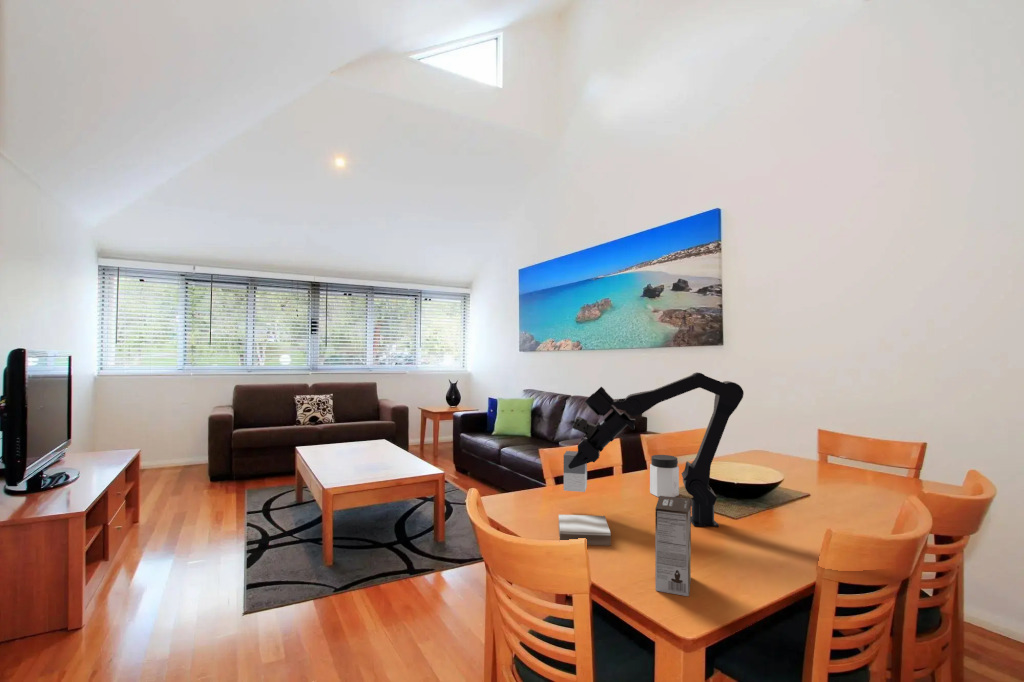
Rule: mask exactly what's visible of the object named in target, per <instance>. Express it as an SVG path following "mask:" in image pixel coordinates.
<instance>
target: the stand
mask: <svg viewBox="0 0 1024 682" xmlns="http://www.w3.org/2000/svg"><path fill="white" fill-rule="evenodd" d="M558 535H559V537H560V538H559V541H560V540H569V539H578V538H586V539H587V544H588V545H587V546H604V547H605V546H606V547H607V546H611V545H612V544H611V543H612V539H611V538H612V537H611V536H612V533H611V529H610V528H609V524H608V522H607V519H606V516H605V515H591V514H589V515H586V514H585V515H584V514H559V513H558Z"/></svg>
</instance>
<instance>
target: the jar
mask: <svg viewBox="0 0 1024 682" xmlns="http://www.w3.org/2000/svg"><path fill="white" fill-rule="evenodd" d="M650 458H651V462H650V464H649V493H650V494H652V495H654V496H655V497H657V498H659V496H668V497H678V496H680V466H679V465H678V462H679V461H678V457H676V456H673V455H671V454H670V455H669V454H654V455H651V457H650Z"/></svg>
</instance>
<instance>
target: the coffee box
mask: <svg viewBox="0 0 1024 682" xmlns="http://www.w3.org/2000/svg"><path fill="white" fill-rule="evenodd" d="M691 516H692V498H687V497H678V496H676V497H668V496H659V497H658V500H657V503H656V506H655V516H654V517H655V521H654V522H655V525H654V526H655V542H654V543H655V561H654V562H655V564H654V565H655V569H654V570H655V578H654V579H655V580H654V581H655V585H654V586H655V588H654V589H655V591H656V592H661V593H665V594H667V593H668V594H672V595H673V594H674V595H678V596H683V597H689V596H690V592H691V591H690V588H691V579H692V578H691V576H692V575H691V571H692V569H691V567H692V566H691V561H692V557H691V556H692V555H691V554H692V541H691V540H692V533H691V532H692V531H691V530H692V523H691Z"/></svg>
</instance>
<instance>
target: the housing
mask: <svg viewBox="0 0 1024 682" xmlns="http://www.w3.org/2000/svg"><path fill="white" fill-rule="evenodd" d="M577 453H578V450H577V451H573V450H572V451H571V450H566V451H565V453H564V454H563V491H564V492H565V491H566V492H579V493H580V492H582V493H586V490H587V487H588V463H587V464H583V465H581V466H578V467H575V468H572V469H570V468H569V467H568V465H569V464H570V462H571V461H572V460H573V458H574V457H575V455H576V454H577Z"/></svg>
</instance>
